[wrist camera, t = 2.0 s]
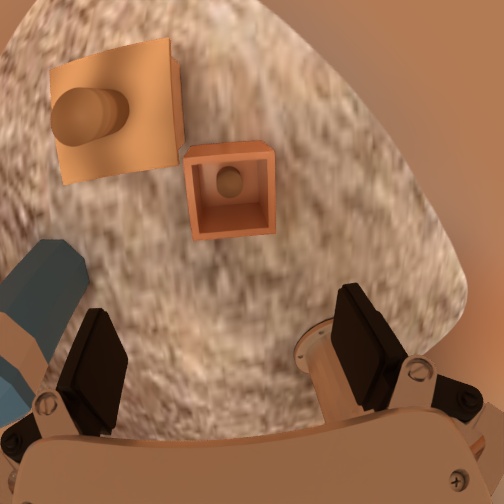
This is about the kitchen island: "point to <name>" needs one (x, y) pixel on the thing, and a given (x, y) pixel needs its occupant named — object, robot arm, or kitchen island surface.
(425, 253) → the kitchen island surface
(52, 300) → the water bottle
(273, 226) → the orange open box
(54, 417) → the robot arm
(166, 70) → the lid
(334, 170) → the kitchen island surface
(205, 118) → the kitchen island surface
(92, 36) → the kitchen island surface
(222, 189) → the cork
